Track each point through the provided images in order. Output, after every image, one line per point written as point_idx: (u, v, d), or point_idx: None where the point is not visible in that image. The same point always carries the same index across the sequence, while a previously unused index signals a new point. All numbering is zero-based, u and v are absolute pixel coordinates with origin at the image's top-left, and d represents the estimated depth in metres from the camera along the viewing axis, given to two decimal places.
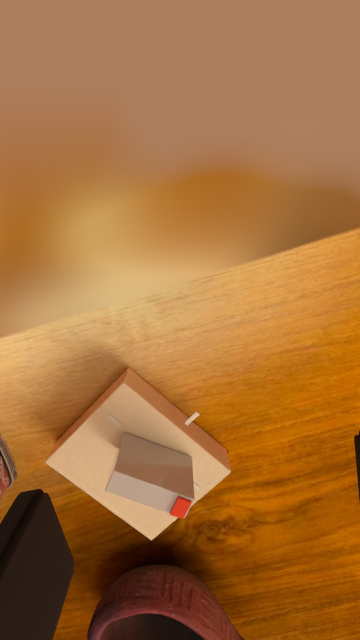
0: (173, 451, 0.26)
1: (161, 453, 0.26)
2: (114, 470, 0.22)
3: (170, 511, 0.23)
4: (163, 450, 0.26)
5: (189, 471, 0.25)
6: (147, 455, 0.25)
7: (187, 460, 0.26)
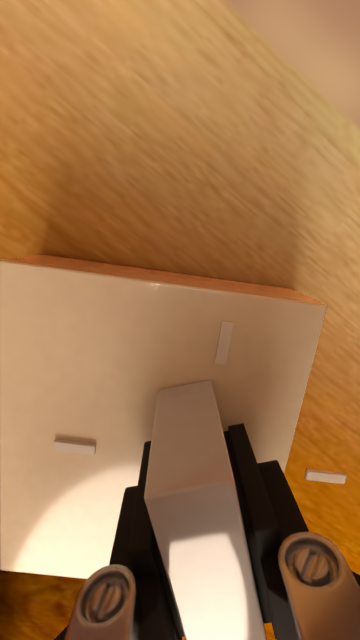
0: None
1: None
2: (231, 480, 0.06)
3: None
4: None
5: None
6: None
7: None
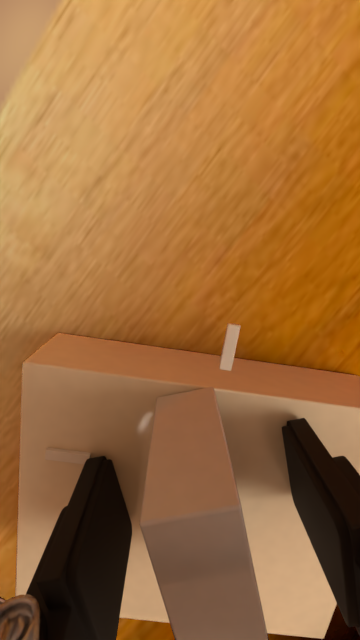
0: None
1: None
2: (238, 505, 0.06)
3: None
4: None
5: None
6: None
7: None
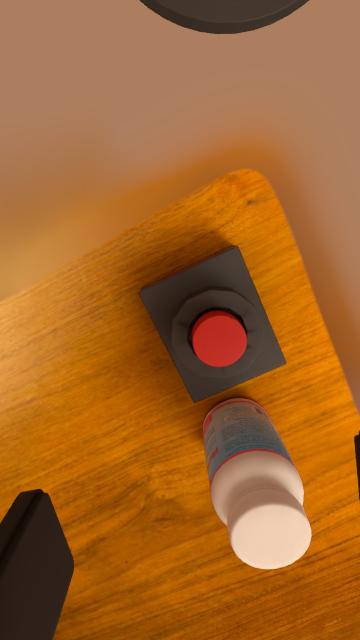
0: None
1: None
2: None
3: None
4: None
5: None
6: None
7: None
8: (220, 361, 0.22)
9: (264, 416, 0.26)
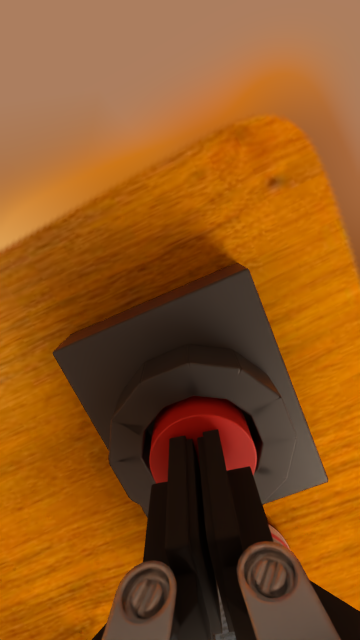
0: None
1: None
2: None
3: None
4: None
5: None
6: None
7: None
8: None
9: None
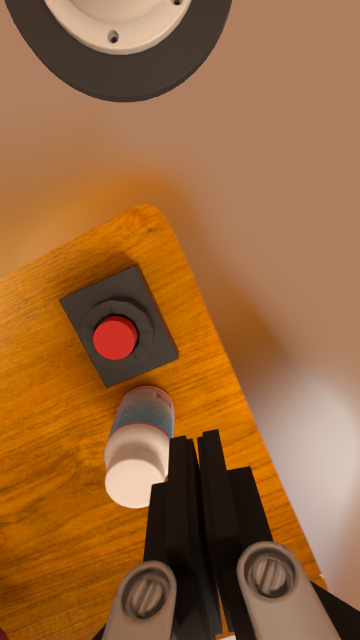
0: None
1: None
2: None
3: None
4: None
5: None
6: None
7: None
8: (115, 355, 0.29)
9: (161, 400, 0.33)
